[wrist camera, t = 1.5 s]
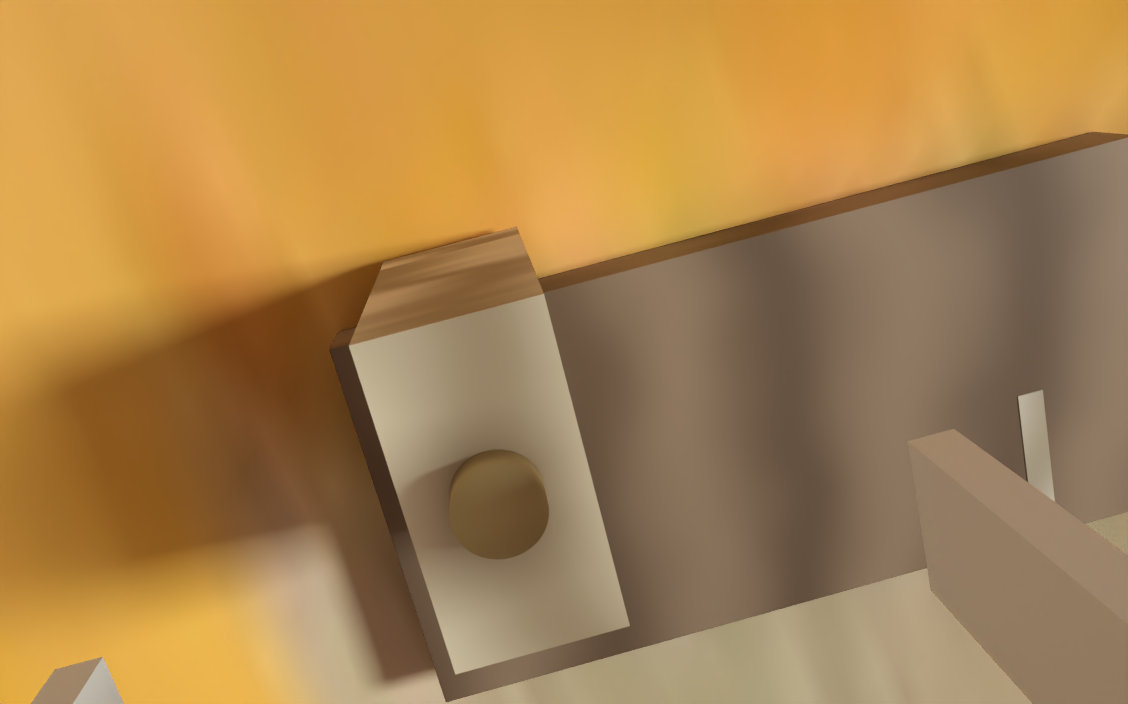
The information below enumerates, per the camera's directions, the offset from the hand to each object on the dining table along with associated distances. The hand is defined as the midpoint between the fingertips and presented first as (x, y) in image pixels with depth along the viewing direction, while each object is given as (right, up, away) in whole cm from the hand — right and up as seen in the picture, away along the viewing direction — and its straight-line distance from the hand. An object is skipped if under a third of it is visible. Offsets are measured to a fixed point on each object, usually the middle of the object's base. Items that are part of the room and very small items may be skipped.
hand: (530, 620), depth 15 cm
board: (+7, +2, +16) cm, 17 cm away
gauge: (-2, +4, +15) cm, 15 cm away
